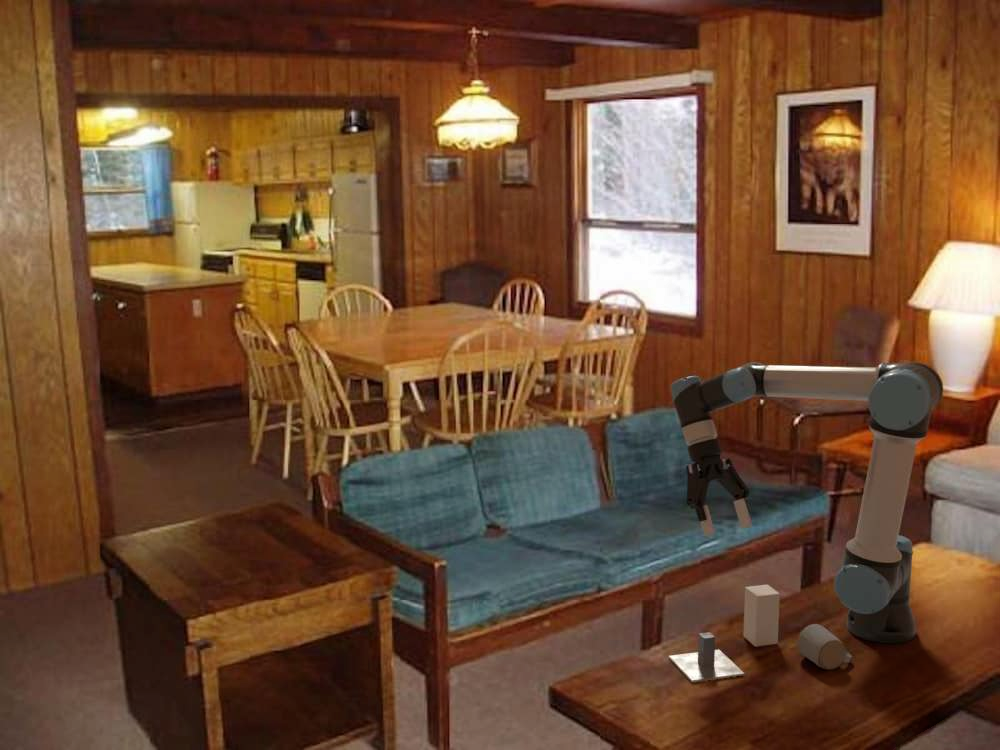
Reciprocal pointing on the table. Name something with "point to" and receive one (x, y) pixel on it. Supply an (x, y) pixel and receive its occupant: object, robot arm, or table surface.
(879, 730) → the table surface
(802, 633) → the ceramic mug
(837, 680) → the table surface
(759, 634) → the beige square prism
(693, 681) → the square base plate
